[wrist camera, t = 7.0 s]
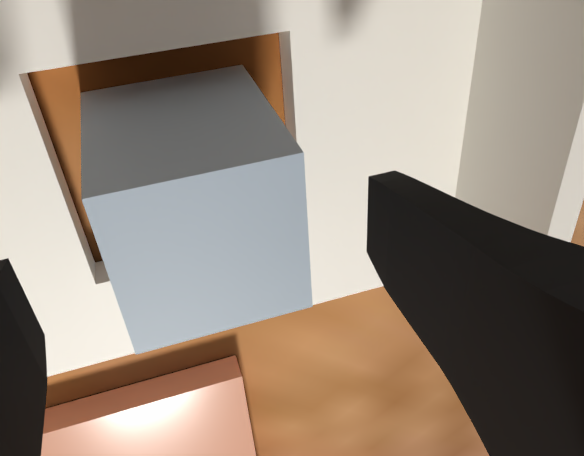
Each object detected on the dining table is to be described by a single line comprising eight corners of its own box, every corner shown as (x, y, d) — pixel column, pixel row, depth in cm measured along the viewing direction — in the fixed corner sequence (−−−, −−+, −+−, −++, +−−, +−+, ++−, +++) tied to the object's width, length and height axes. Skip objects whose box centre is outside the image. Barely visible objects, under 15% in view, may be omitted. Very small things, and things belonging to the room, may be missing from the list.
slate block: (241, 63, 14) (303, 152, 10) (257, 195, 17) (312, 306, 13) (80, 91, 13) (82, 199, 9) (121, 225, 16) (135, 354, 12)
